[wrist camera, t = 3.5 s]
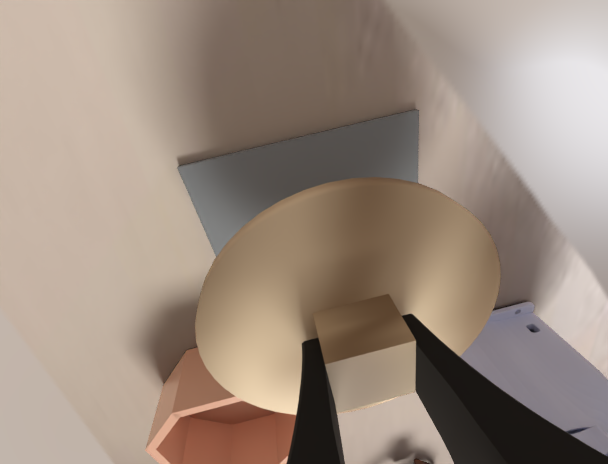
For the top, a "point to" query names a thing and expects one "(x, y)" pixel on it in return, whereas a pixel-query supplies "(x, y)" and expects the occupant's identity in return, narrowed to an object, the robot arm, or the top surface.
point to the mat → (297, 170)
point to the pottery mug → (419, 462)
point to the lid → (344, 291)
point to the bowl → (214, 422)
